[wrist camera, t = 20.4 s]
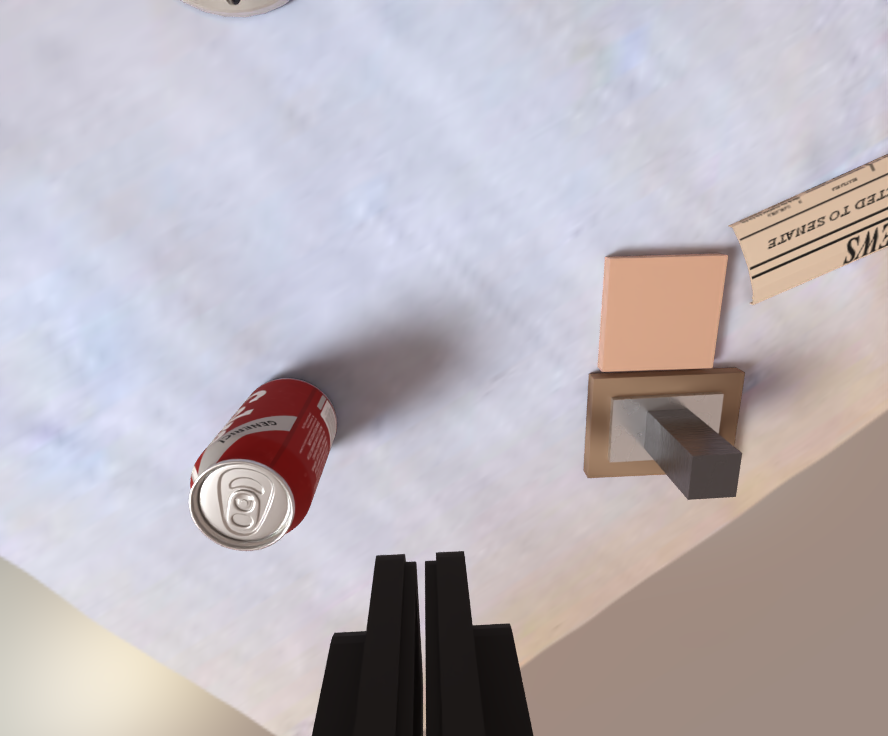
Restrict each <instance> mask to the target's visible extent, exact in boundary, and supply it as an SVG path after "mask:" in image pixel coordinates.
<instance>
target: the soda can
mask: <svg viewBox="0 0 888 736" xmlns="http://www.w3.org/2000/svg"><path fill="white" fill-rule="evenodd" d="M336 431H337V417H336V413H335V409H334V407H333V405H332V403H331V401H330V400H329V399H328V397H327V396H326V395H325V394H324V393H323V392H322V391H321V390H320V389H318V388H317V387H316V386H314V385H312V384H310V383H308V382H306V381H303V380H299V379H293V378H281V379H275V380H272V381H269V382H267V383H265V384H263V385H261V386H260V387H258V388H257V389H256V390H255V391H254V392H253V393H252V394H251V395H250V397H249V398H248V399H247V400H246V401H245V402H244V404H243V405H242V406H241V407H240V408H239V410H238V411H237V412H236V413H235V414H234V416H233V417H232V418H231V419H230V420H229V422H228V423H227V424H226V425H225V426H224V428H223V429H222V430H221V431H220V432H219V433H218V435H217V436H216V437H215V438H214V439H213V441H212V442H211V443H210V444H209V445H208V447H207V448H206V449H205V450H204V451H203V453H202V454H201V455H200V456H199V458H198V459H197V461H196V463H195V465H194V467H193V470H192V474H191V482H190V487H191V491H190V496H189V508H190V513H191V516H192V518H193V521H194V522H195V524H196V526H197V527H198V528H199V530H200V531H201V532H202V533H203V534H204V535H205V536H206V537H208V538H209V539H210V540H212V541H213V542H215V543H217V544H219V545H221V546H223V547H226V548H229V549H233V550H240V551H253V550H259V549H263V548H266V547H268V546H270V545H272V544H274V543H276V542H277V541H278V540H280V539H281V538H282V537H283V536H284V535H285V534H287V533H288V532H290V531H291V530H293V529H294V528H295V527H296V526H298V525H299V524H300V522H301V521H302V520H303V519H304V517H305V516H306V514H307V512H308V510H309V508H310V505H311V502H312V500H313V497H314V494H315V491H316V488H317V486H318V483H319V480H320V477H321V474H322V472H323V469H324V466H325V463H326V460H327V457H328V455H329V452H330V449H331V446H332V443H333V441H334V438H335V435H336Z"/></svg>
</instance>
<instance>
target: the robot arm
mask: <svg viewBox="0 0 888 736" xmlns="http://www.w3.org/2000/svg"><path fill="white" fill-rule="evenodd" d="M181 1H182V2H184V3H186V4H188V5H190V6H193V7H195V8H197V9H199V10H201V11H203V12H207V13H211V14H216V15H220V16H224V17H249V16H254V15H259V14H265V13H267V12H269V11H272V10H274V9H276V8H278V7H281V6H283V5H285V4H286V3H287V2H289V1H290V0H240V2H239V3H238V5H235V4H234V0H181ZM425 632H426V736H533V732H532V727H531V722H530V717H529V712H528V707H527V702H526V697H525V692H524V688H523V682H522V677H521V672H520V667H519V662H518V658H517V653H516V648H515V643H514V638H513V633H512V629H511V626H510V624H492V625H472V617H471V608H470V599H469V590H468V582H467V573H466V564H465V556H464V551H458V552H438V553H436V561H425ZM312 736H423V672H422V654H421V636H420V618H419V600H418V583H417V565H416V562H406V558H405V554H398V555H378V556H376V560H375V568H374V576H373V583H372V591H371V599H370V607H369V615H368V623H367V630H366V631H361V632H342V633H334V635H333V637H332V640H331V644H330V649H329V654H328V659H327V664H326V669H325V673H324V678H323V683H322V688H321V693H320V698H319V703H318V708H317V713H316V718H315V723H314V728H313V733H312Z"/></svg>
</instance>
